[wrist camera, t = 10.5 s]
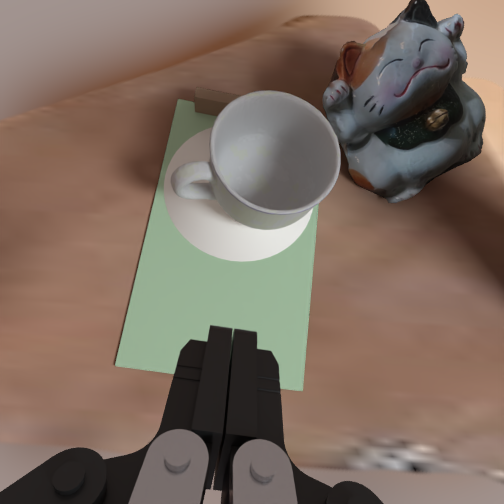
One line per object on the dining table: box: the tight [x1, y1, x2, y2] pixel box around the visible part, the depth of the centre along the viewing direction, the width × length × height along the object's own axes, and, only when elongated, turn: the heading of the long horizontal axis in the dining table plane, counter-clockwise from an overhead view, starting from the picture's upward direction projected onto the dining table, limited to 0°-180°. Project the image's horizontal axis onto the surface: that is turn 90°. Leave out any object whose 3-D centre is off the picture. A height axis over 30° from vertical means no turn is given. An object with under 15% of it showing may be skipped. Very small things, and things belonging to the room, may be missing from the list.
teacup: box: [170, 90, 341, 230], centre depth 31 cm, size 14×11×8 cm
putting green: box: [115, 87, 319, 391], centre depth 33 cm, size 16×27×2 cm, turn 172°
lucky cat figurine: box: [323, 0, 486, 203], centre depth 34 cm, size 15×12×14 cm
